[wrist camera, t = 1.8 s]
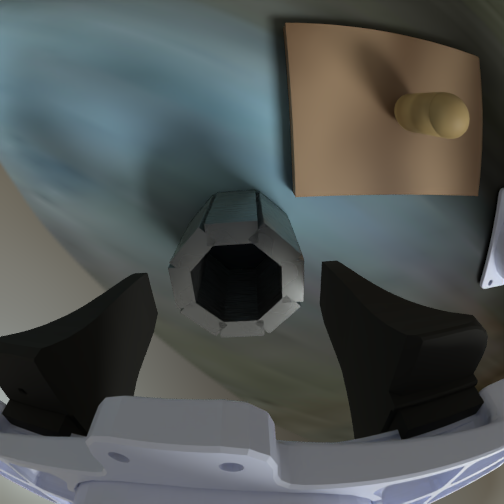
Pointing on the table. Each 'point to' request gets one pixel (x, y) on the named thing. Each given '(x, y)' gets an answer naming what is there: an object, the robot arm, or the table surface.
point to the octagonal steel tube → (238, 280)
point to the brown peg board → (381, 113)
